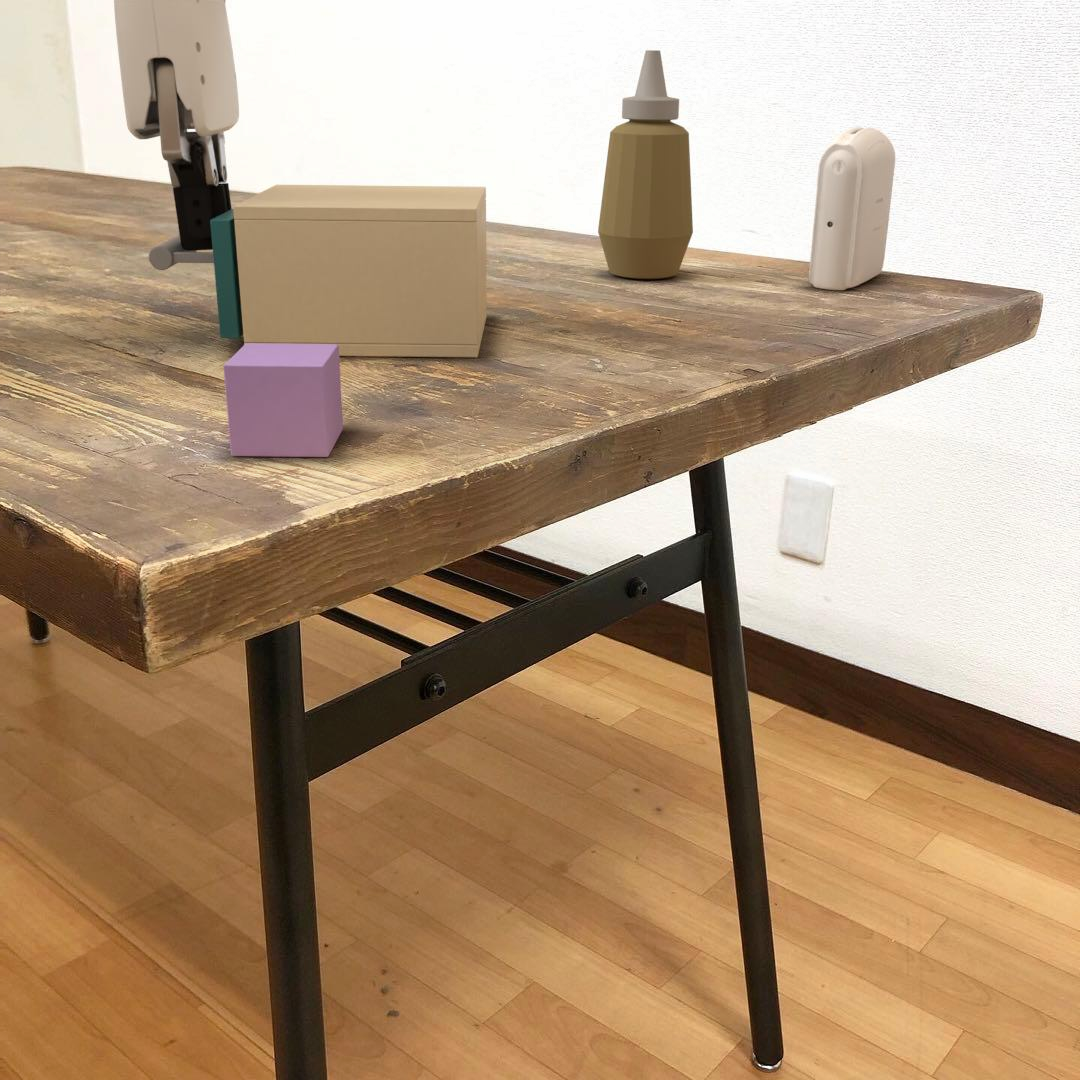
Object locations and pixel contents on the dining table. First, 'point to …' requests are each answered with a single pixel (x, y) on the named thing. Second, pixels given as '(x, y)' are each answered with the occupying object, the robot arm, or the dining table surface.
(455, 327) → the drawer cabinet
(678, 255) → the squeeze bottle
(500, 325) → the dining table surface
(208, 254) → the drawer
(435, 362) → the dining table surface
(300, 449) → the lavender foam cube
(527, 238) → the dining table surface
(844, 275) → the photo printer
